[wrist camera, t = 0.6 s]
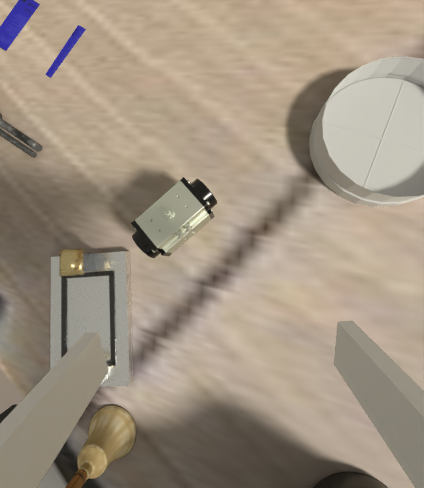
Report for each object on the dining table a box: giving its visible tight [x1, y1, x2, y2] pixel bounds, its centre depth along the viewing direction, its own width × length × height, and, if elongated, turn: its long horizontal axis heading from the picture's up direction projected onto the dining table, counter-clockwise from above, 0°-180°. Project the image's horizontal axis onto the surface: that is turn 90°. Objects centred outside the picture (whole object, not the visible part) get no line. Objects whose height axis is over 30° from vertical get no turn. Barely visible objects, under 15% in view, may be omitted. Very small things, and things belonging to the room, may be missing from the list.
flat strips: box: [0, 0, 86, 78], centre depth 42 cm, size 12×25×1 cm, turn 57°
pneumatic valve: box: [131, 177, 217, 258], centre depth 30 cm, size 6×12×12 cm, turn 131°
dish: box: [309, 56, 424, 207], centre depth 32 cm, size 22×22×5 cm
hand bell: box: [66, 405, 136, 488], centre depth 26 cm, size 8×8×16 cm
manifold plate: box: [50, 249, 134, 386], centre depth 33 cm, size 23×14×7 cm, turn 4°
